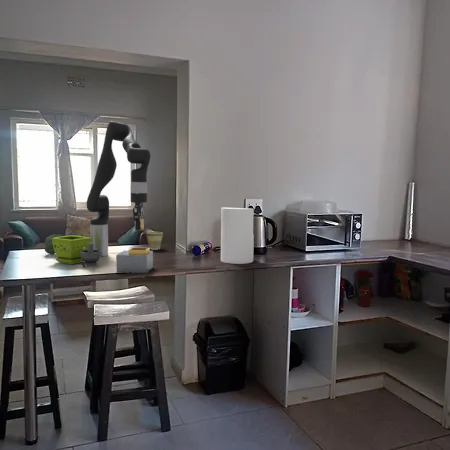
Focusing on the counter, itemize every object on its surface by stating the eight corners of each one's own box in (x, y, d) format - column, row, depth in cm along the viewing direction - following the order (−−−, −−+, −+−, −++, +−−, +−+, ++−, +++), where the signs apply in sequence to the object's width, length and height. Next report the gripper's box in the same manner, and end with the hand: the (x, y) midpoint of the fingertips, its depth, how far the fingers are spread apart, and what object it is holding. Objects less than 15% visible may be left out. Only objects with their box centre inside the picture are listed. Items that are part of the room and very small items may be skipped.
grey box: (116, 272, 203) (116, 250, 202) (124, 266, 216) (124, 246, 215) (146, 273, 202) (146, 251, 201) (152, 267, 215) (152, 247, 214)
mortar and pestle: (80, 263, 222) (80, 239, 221) (99, 262, 225) (99, 239, 224) (80, 268, 211) (80, 243, 210) (101, 267, 214) (101, 242, 213)
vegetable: (75, 251, 244) (49, 241, 236) (63, 265, 249) (37, 256, 241) (76, 236, 252) (51, 226, 244) (65, 250, 258) (40, 240, 250)
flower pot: (71, 265, 216) (70, 240, 215) (51, 262, 223) (50, 237, 222) (92, 261, 228) (92, 236, 227) (73, 258, 235) (72, 234, 234)
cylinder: (247, 264, 226) (248, 209, 223) (215, 262, 232) (216, 208, 229) (257, 259, 242) (258, 207, 239) (227, 256, 248) (227, 206, 245)
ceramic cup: (155, 250, 264) (155, 234, 263) (142, 249, 269) (142, 232, 268) (169, 248, 275) (169, 232, 274) (157, 246, 280) (157, 230, 279)
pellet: (133, 230, 205) (133, 219, 205) (136, 229, 209) (136, 218, 209) (142, 230, 205) (142, 219, 205) (144, 229, 209) (144, 218, 209)
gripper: (134, 191, 213) (135, 227, 214) (126, 192, 198) (127, 230, 200) (150, 191, 212) (150, 227, 214) (143, 192, 198) (143, 231, 200)
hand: (139, 228), depth 207 cm, fingers closed on pellet, 4 cm apart
